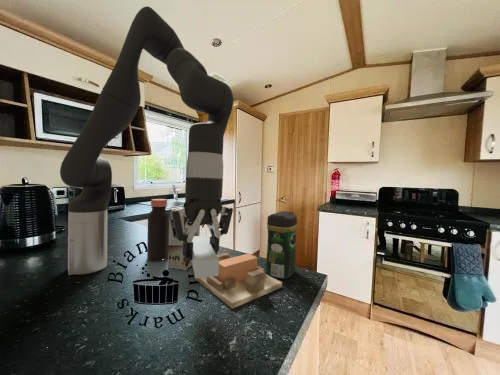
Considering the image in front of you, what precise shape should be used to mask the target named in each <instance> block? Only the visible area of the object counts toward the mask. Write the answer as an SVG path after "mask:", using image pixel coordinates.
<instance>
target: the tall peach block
mask: <svg viewBox="0 0 500 375" xmlns="http://www.w3.org/2000/svg"><path fill="white" fill-rule="evenodd" d="M257 266H258V257H257V256H255V255H253V254H250V253H245V254H242V255H237V256H234V257H230V258H229V259H225V260H221V261H219V272H218V276H215V278H216V279H217V280H219V281H220V282H222V283H223V287H224V280H227V279H230V278H233V277H234V278H236V282H239V281H242V280H245V279H247V273H249V272H252V271H255V270H257Z"/></svg>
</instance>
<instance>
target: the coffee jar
mask: <svg viewBox="0 0 500 375" xmlns="http://www.w3.org/2000/svg"><path fill="white" fill-rule="evenodd" d="M266 221H267V222H266V228H267V243H266V244H267V246H266V258H265V259H266V260H265V274H266V275H268V276H270V277H272V278H274V279H276V280H280V279H281V280H288V279H289V278H290V277H292V276H293V275H294V273H295V272H296V267H297V266H296V265H297V264H296V262H297V261H296V254H297V253H296V251H297V250H296V248H297V247H296V246H297V229H298V218H297V215H296V214H295V213H294V212H293V211H284V210H282V211H278V212H275V213H271V214H270V215H267V219H266Z"/></svg>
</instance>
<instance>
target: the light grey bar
mask: <svg viewBox="0 0 500 375" xmlns="http://www.w3.org/2000/svg"><path fill="white" fill-rule="evenodd" d="M192 242H193V257H192V260H191V262H192V266H191V267H192V269H193V273H194V274H195V278H203V277H213V276H218V272H219V258H218V257H217V255H218V254H217V255H216V253H215V251H214V250H213V248H212V246H211V244H210V240H209V239H208V237H207V236H206V235H199V236H194V237H193V240H192ZM195 278H194V279H195Z"/></svg>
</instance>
